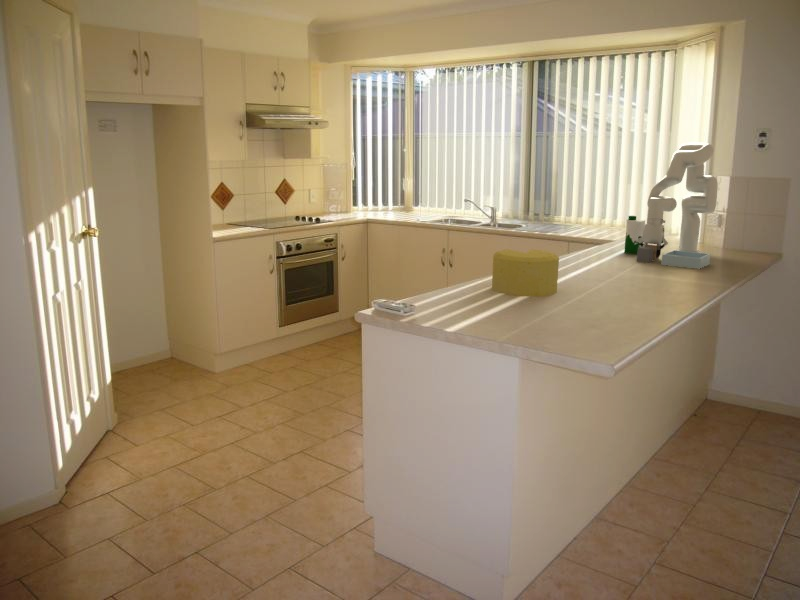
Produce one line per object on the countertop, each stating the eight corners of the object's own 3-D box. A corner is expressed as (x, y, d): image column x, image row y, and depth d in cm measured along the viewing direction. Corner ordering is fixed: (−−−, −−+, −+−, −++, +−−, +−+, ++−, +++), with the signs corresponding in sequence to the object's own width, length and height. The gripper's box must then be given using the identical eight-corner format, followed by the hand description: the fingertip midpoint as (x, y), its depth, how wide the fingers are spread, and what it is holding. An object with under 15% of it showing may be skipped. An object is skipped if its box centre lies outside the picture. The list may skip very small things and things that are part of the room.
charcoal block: (640, 260, 354) (641, 246, 352) (652, 261, 351) (653, 247, 349) (636, 261, 349) (637, 247, 348) (648, 262, 346) (649, 249, 344)
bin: (672, 260, 354) (673, 250, 353) (709, 264, 343) (710, 254, 342) (661, 264, 340) (662, 254, 339) (699, 269, 329) (700, 258, 328)
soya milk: (627, 251, 382) (631, 215, 378) (644, 252, 377) (647, 216, 372) (622, 253, 375) (625, 216, 371) (638, 254, 370) (642, 217, 365)
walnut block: (647, 257, 362) (648, 244, 360) (658, 258, 358) (659, 245, 357) (643, 258, 357) (644, 245, 356) (654, 260, 354) (656, 246, 352)
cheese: (512, 280, 297) (514, 246, 293) (568, 289, 281) (570, 253, 277) (479, 289, 277) (481, 253, 274) (537, 300, 261) (539, 261, 258)
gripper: (674, 222, 351) (670, 257, 355) (640, 219, 361) (637, 253, 365) (669, 223, 345) (665, 259, 349) (635, 220, 355) (632, 255, 360)
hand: (651, 256), depth 357 cm, fingers closed on walnut block, 6 cm apart
